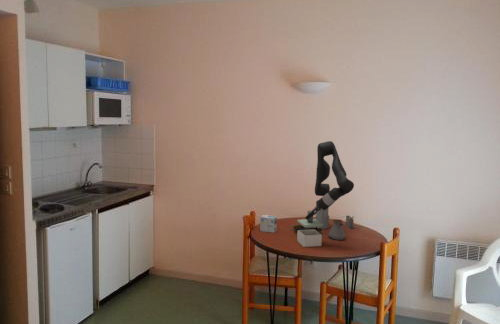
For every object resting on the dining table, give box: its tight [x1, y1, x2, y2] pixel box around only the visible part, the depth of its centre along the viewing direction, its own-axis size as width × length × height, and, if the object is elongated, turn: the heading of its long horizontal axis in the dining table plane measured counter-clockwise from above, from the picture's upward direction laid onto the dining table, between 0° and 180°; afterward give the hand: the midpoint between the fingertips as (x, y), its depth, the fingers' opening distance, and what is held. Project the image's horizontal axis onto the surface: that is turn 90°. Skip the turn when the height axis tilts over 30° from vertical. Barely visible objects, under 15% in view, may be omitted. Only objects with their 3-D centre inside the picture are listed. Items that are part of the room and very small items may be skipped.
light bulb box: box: [259, 214, 278, 234], centre depth 285 cm, size 11×7×11 cm, turn 71°
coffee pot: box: [328, 219, 346, 242], centre depth 264 cm, size 21×12×15 cm, turn 178°
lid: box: [296, 210, 323, 229], centre depth 255 cm, size 13×13×9 cm
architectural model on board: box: [345, 215, 355, 230], centre depth 299 cm, size 11×3×10 cm, turn 1°
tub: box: [296, 229, 323, 248], centre depth 257 cm, size 12×12×8 cm
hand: (307, 217), depth 256 cm, fingers closed on lid, 3 cm apart
